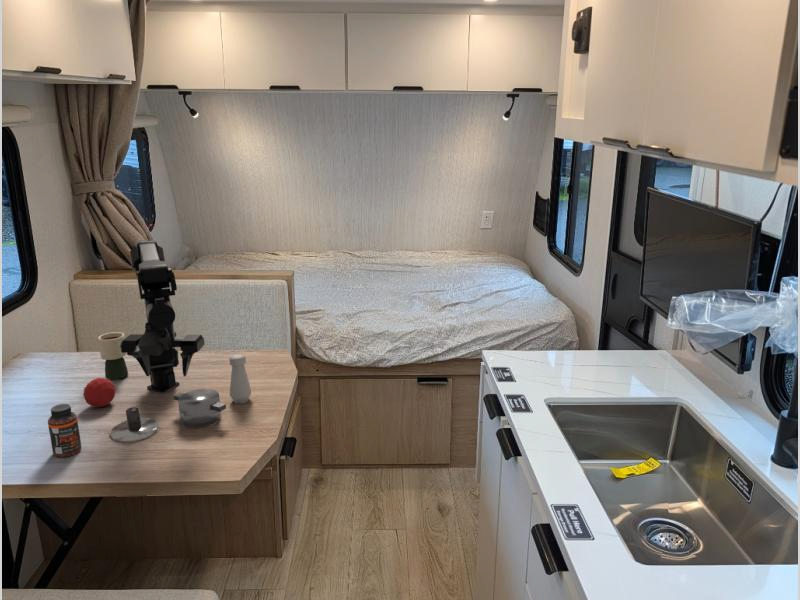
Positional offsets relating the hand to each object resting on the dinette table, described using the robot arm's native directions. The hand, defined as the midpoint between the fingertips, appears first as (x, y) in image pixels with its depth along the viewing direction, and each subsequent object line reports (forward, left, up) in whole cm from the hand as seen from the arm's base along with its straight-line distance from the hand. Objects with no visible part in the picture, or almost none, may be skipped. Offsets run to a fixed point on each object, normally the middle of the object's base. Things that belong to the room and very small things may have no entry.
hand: (166, 375), depth 154 cm
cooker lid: (-5, -7, -13) cm, 16 cm away
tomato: (-25, -1, -13) cm, 28 cm away
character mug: (-37, +14, -13) cm, 41 cm away
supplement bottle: (-11, -21, -13) cm, 27 cm away
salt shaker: (+7, +18, -13) cm, 23 cm away
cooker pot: (+5, +5, -13) cm, 15 cm away
